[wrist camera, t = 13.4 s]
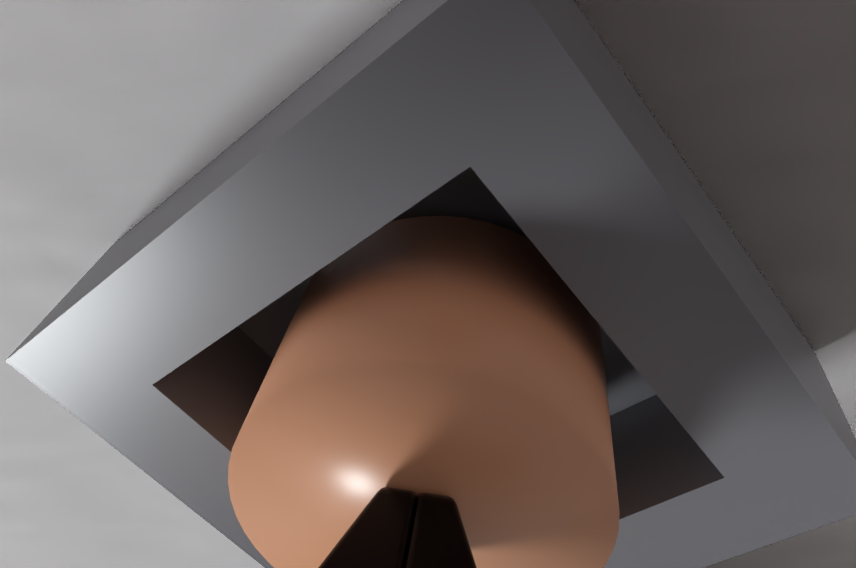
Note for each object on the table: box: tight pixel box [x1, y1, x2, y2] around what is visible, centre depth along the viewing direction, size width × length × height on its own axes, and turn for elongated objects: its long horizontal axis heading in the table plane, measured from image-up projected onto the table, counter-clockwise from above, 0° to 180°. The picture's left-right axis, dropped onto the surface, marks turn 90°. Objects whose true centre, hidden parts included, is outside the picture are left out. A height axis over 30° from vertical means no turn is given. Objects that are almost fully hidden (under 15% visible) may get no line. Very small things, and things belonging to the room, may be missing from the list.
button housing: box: [6, 0, 856, 568], centre depth 11 cm, size 8×8×3 cm
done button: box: [228, 216, 620, 568], centre depth 10 cm, size 4×4×3 cm
